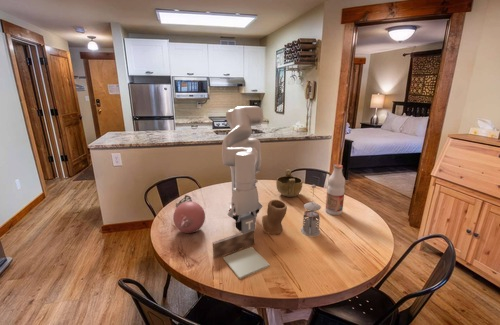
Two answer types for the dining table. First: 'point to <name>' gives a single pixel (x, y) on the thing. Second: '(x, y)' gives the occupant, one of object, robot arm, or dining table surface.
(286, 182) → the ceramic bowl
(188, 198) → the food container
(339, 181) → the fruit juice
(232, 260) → the display mat
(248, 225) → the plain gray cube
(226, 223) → the dining table surface
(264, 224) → the stone cup
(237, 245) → the walnut screen
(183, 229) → the balloon
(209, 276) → the dining table surface
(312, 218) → the french press
